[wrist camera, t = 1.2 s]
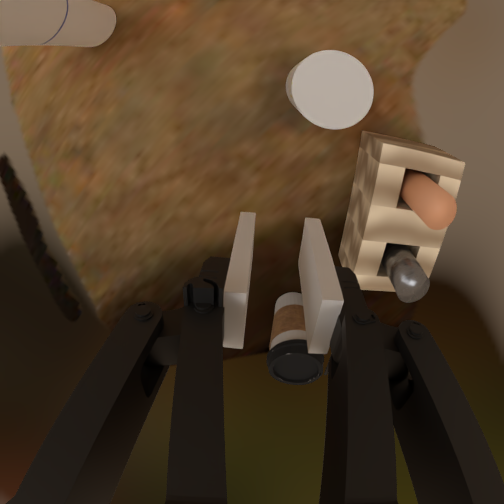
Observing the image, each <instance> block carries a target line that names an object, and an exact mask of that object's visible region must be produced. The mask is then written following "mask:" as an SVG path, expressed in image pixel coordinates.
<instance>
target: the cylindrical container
mask: <svg viewBox="0 0 504 504" xmlns="http://www.w3.org/2000/svg"><path fill="white" fill-rule="evenodd" d="M115 25H116V14H115V12H114V10H113V9H112V8H111V7H110V6H108V5H105V4H102V3H99V2H96V1H93V0H0V46H20V45H59V46H80V47H95V46H98V45H100V44H102V43H104V42H105V41H106V40H107V39H108V38H109V37H110V36H111V34H112V33H113V31H114V28H115Z"/></svg>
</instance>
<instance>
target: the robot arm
mask: <svg viewBox="0 0 504 504" xmlns="http://www.w3.org/2000/svg"><path fill="white" fill-rule="evenodd" d="M255 217H256V213H249V212H241V213H240V218H239V223H238V227H237V232H236V236H235V241H234V245H233V250H232V255H231V258H221V257H209V258H208V259H207V260H206V261H205V262H204V263H203V266H202V269H201V272H200V275H199V277H195V278H192V279H190V280H188V281H187V282H186V283H185V284H184V286H183V296H184V307H182V308H179V309H176V310H169V311H162V310H161V308H160V307H159V306H158V305H157V304H155V303H152V302H145V301H144V302H139V303H136V304H134V305H132V306H130V307H129V308H128V309H127V311H126V312H125V313H124V315H123V316H122V318H121V319H120V321H119V322H118V324H117V325H116V326H115V328H114V329H113V331H112V332H111V334H110V336H109V337H108V338H107V340H106V341H105V343H104V345H103V346H102V347H101V349H100V350H99V352H98V353H97V355H96V357H95V358H94V359H93V361H92V363H91V364H90V366H89V367H88V369H87V370H86V372H85V374H84V375H83V377H82V378H81V380H80V381H79V383H78V385H77V386H76V388H75V389H74V391H73V393H72V394H71V396H70V398H69V399H68V401H67V403H66V404H65V406H64V407H63V409H62V411H61V413H60V414H59V416H58V418H57V419H56V421H55V423H54V425H53V426H52V428H51V430H50V431H49V433H48V435H47V437H46V438H45V440H44V442H43V444H42V445H41V447H40V449H39V451H38V453H37V455H36V457H35V458H34V460H33V462H32V464H31V466H30V468H29V469H28V471H27V473H26V475H25V477H24V479H23V481H22V483H21V485H20V487H19V489H18V491H17V493H16V495H15V496H14V497H13V498H12V499H11V500H10V501H8V502H7V503H6V504H110V502H111V500H112V498H113V495H114V493H115V490H116V488H117V486H118V483H119V481H120V478H121V476H122V474H123V471H124V469H125V466H126V464H127V462H128V459H129V457H130V455H131V452H132V450H133V448H134V445H135V443H136V441H137V438H138V436H139V433H140V432H141V429H142V427H143V425H144V422H145V420H146V418H147V415H148V413H149V411H150V409H151V407H152V404H153V402H154V400H155V397H156V395H157V393H158V391H159V388H160V386H161V384H162V382H163V380H164V377H165V375H166V373H167V371H168V369H169V366H170V365H173V364H177V368H176V377H175V386H174V396H173V407H172V418H171V429H170V442H169V457H168V473H167V492H166V493H167V494H166V502H165V504H227V492H226V491H227V490H226V468H225V441H224V407H223V406H224V405H223V347H229V348H239V349H243V340H244V331H245V322H246V312H247V303H248V293H249V284H250V275H251V265H252V255H253V242H254V229H255ZM298 265H299V273H300V281H301V290H302V299H303V308H304V317H305V327H306V337H307V347H308V353H314V354H327V352H328V349H329V346H330V347H331V353H332V354H331V357H330V360H329V362H328V365H327V367H326V370H325V374H324V375H327V373H328V396H327V415H326V432H325V446H324V460H323V470H322V480H321V490H320V499H319V504H398V502H397V488H396V487H397V484H396V456H395V441H394V428H395V431H396V434H397V437H398V440H399V443H400V446H401V449H402V452H403V455H404V458H405V461H406V464H407V467H408V470H409V474H410V477H411V480H412V484H413V487H414V490H415V494H416V497H417V501H418V504H504V483H503V480H502V478H501V476H500V472H499V470H498V467H497V465H496V463H495V460H494V458H493V455H492V453H491V450H490V448H489V446H488V443H487V441H486V439H485V437H484V435H483V432H482V430H481V428H480V426H479V424H478V421H477V419H476V417H475V415H474V413H473V411H472V409H471V407H470V405H469V403H468V401H467V399H466V397H465V395H464V393H463V391H462V389H461V387H460V385H459V383H458V382H457V380H456V378H455V376H454V374H453V372H452V370H451V369H450V367H449V365H448V363H447V361H446V360H445V358H444V356H443V354H442V353H441V351H440V349H439V347H438V346H437V344H436V342H435V340H434V339H433V337H432V335H431V334H430V332H429V330H428V329H427V328H426V327H425V326H424V325H422V324H421V323H419V322H417V321H413V320H407V321H403V322H402V323H401V324H400V325H399V327H398V328H396V327H392V326H388V325H385V324H382V323H380V322H379V319H378V316H377V315H376V314H375V313H374V312H373V311H371V310H369V309H368V308H367V305H366V302H365V299H364V297H363V294H362V291H361V289H360V285H359V283H358V280H357V277H356V274H355V273H354V272H353V271H352V270H351V269H350V268H349V267H336V266H334V263H333V260H332V256H331V253H330V250H329V246H328V243H327V240H326V237H325V233H324V230H323V227H322V224H321V221H320V219H314V218H305V224H304V231H303V237H302V243H301V249H300V255H299V261H298ZM393 425H394V427H393Z"/></svg>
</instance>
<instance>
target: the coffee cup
mask: <svg viewBox="0 0 504 504" xmlns="http://www.w3.org/2000/svg"><path fill="white" fill-rule="evenodd" d="M269 348H270V351H269V352H268V354H267V366H268V368H269V373H270V374H271V376H272V377H273V378H275V379H276V380H278V381H280V382H283V383H287V384H293V385H304V384H309V383H312V382H314V381H315V380H317V379H318V378H319V377H320V376H321V375H322V373H323V362H324V356H323V354H314V353H308V347H307V337H306V327H305V317H304V308H303V299H302V294H300V293H296V292H290V293H286V294H283V295H282V296H280V297H279V298H278V300H277V301H276V305H275V313H274V320H273V327H272V333H271V340H270V347H269Z"/></svg>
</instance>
